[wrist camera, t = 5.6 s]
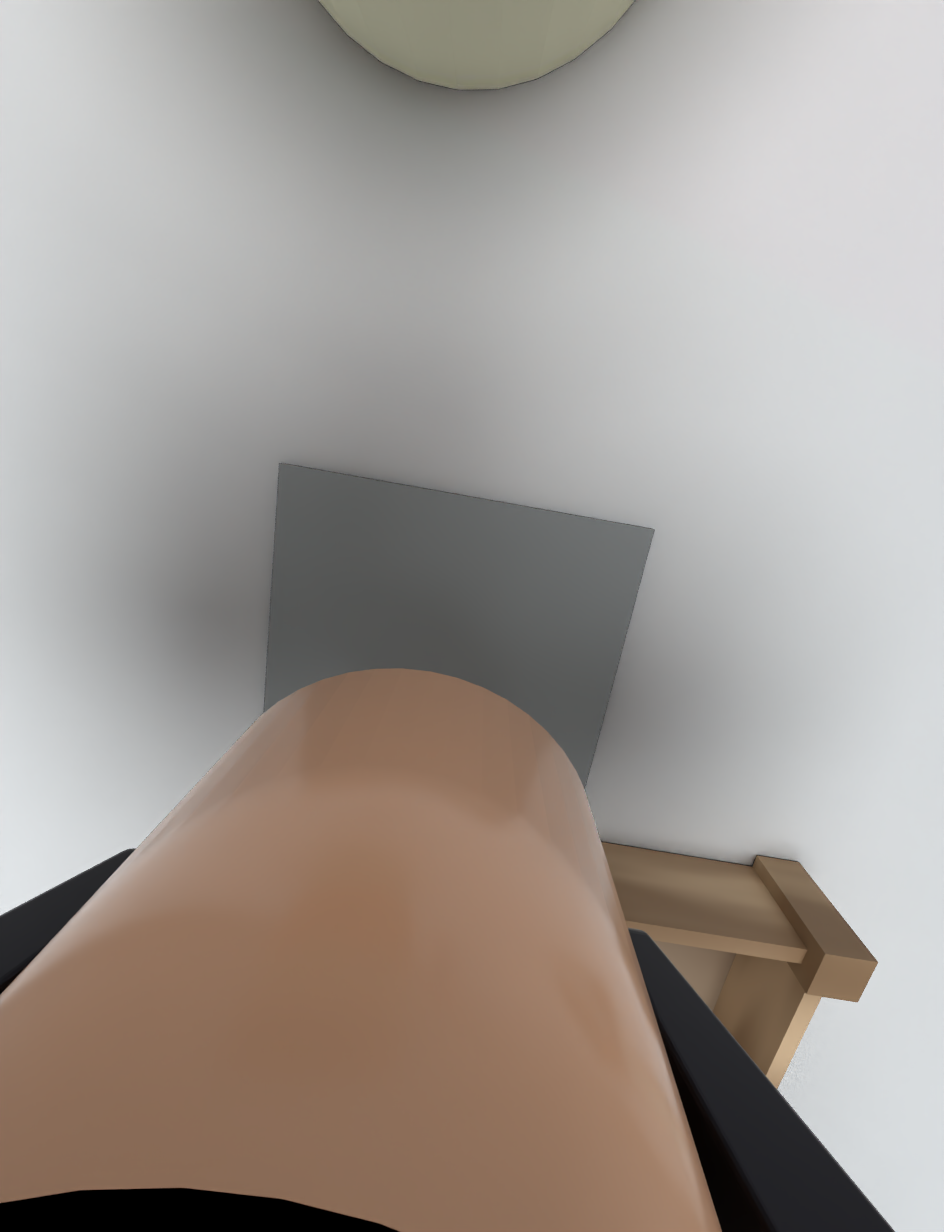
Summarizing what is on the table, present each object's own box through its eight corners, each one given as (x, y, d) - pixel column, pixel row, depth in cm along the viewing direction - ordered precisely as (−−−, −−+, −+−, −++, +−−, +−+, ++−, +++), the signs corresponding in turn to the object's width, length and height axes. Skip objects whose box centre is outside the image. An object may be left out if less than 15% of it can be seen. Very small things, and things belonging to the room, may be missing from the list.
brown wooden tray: (671, 1162, 21) (707, 1296, 17) (305, 1106, 20) (269, 1232, 17) (799, 862, 17) (878, 962, 13) (341, 787, 16) (304, 870, 13)
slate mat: (569, 836, 17) (570, 841, 16) (261, 786, 16) (258, 789, 16) (652, 528, 14) (655, 529, 14) (282, 463, 14) (278, 463, 13)
